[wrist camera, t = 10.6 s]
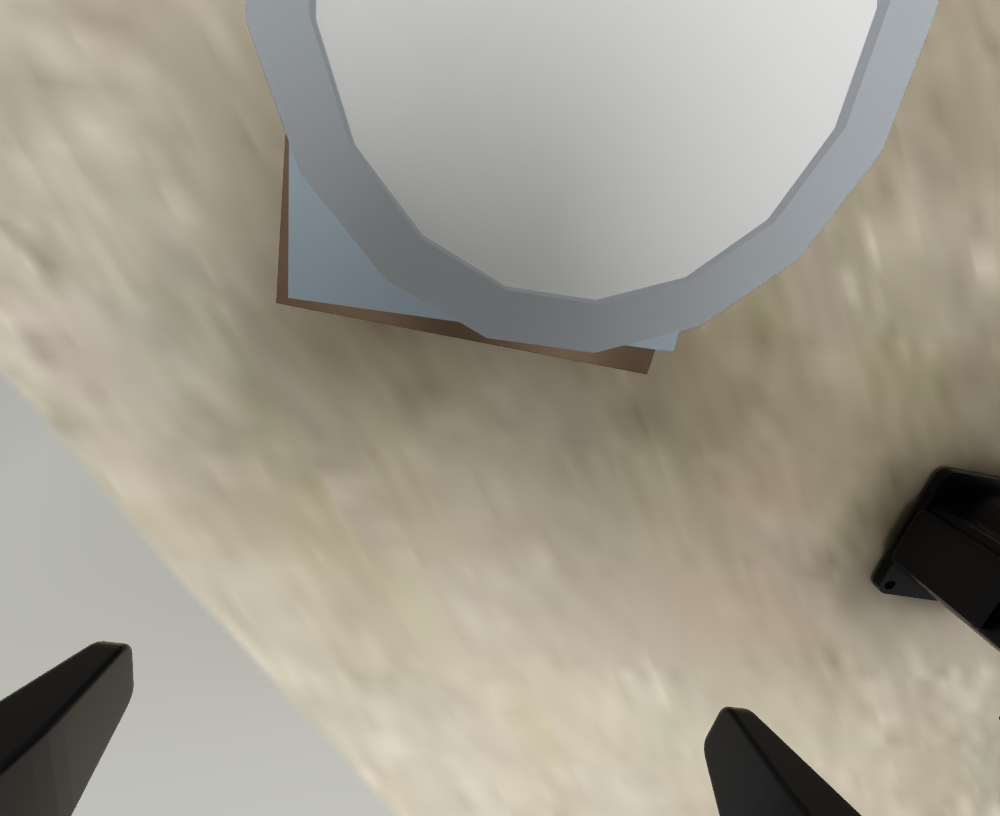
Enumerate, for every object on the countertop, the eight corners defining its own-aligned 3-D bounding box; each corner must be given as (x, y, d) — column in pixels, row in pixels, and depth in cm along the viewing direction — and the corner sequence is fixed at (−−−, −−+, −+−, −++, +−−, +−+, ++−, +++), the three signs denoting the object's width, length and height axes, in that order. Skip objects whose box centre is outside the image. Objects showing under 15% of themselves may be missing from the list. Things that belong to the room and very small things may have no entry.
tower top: (738, -60, 13) (813, -134, 10) (637, 327, 16) (673, 351, 14) (332, -160, 12) (290, -275, 9) (320, 280, 15) (288, 298, 12)
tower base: (735, -21, 16) (794, -71, 13) (621, 350, 20) (646, 374, 17) (337, -148, 14) (306, -236, 11) (305, 287, 18) (276, 303, 15)
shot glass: (420, -146, 10) (335, -895, 3) (728, 17, 11) (1127, -264, 4) (333, 219, 12) (177, 235, 5) (597, 316, 13) (735, 425, 7)
